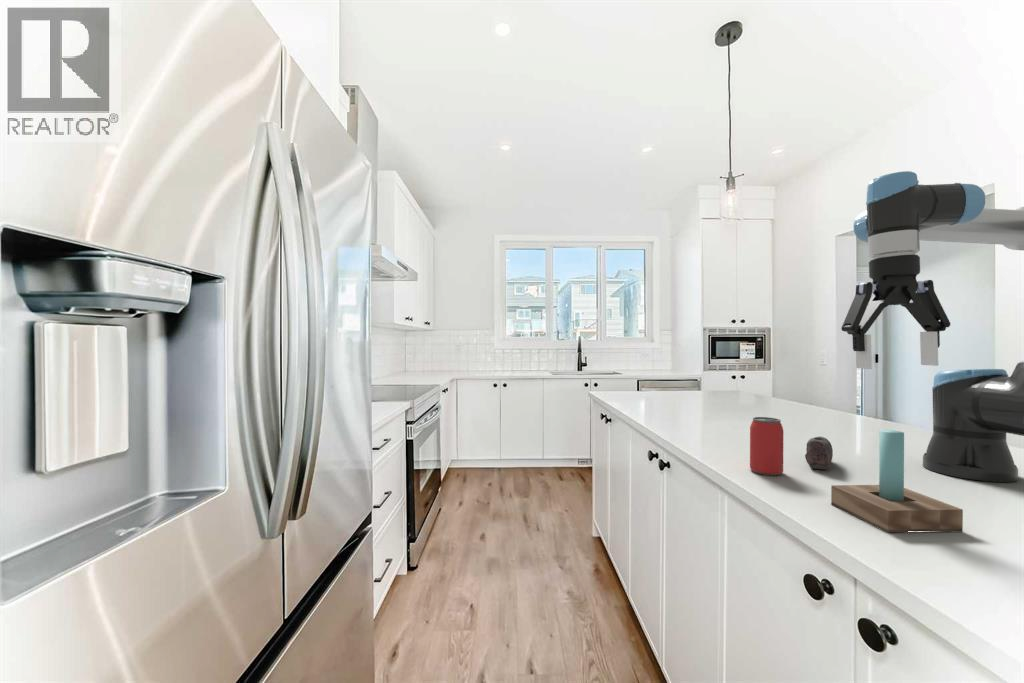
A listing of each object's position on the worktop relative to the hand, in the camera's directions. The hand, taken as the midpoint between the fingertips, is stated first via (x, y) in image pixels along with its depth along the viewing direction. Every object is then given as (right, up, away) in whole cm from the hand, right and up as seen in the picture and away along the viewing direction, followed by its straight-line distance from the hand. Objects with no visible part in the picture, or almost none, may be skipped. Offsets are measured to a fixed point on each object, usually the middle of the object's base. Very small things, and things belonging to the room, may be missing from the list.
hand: (896, 367), depth 88 cm
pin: (-10, -24, -11) cm, 28 cm away
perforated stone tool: (-1, -25, +21) cm, 32 cm away
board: (-10, -25, -11) cm, 29 cm away
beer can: (-17, -25, +15) cm, 34 cm away
